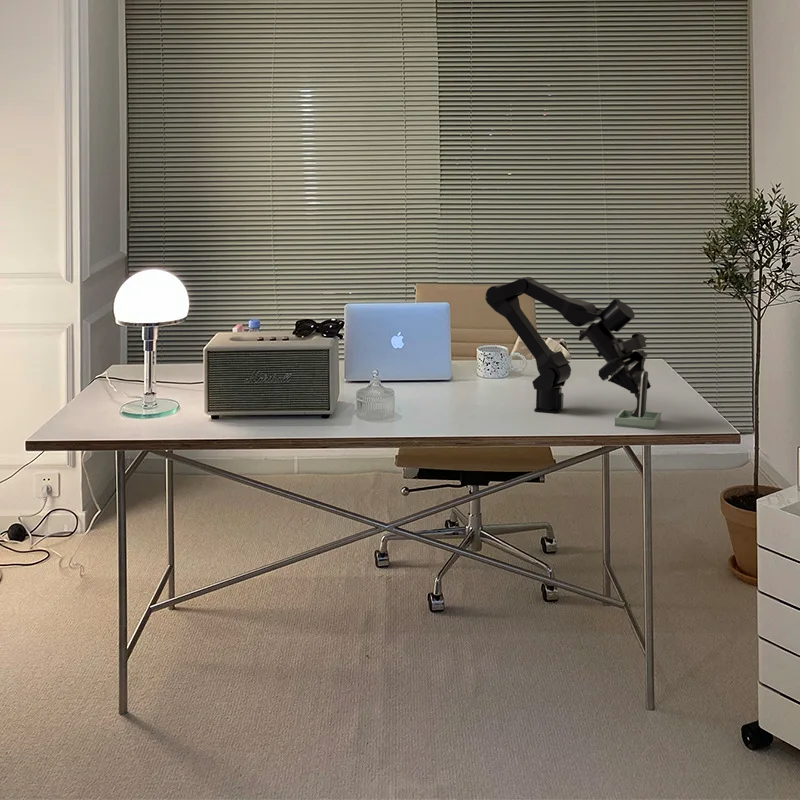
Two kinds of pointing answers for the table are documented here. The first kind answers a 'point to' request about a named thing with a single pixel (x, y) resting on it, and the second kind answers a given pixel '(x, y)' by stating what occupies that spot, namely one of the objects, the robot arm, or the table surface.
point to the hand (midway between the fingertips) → (643, 390)
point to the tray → (638, 420)
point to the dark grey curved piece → (640, 392)
